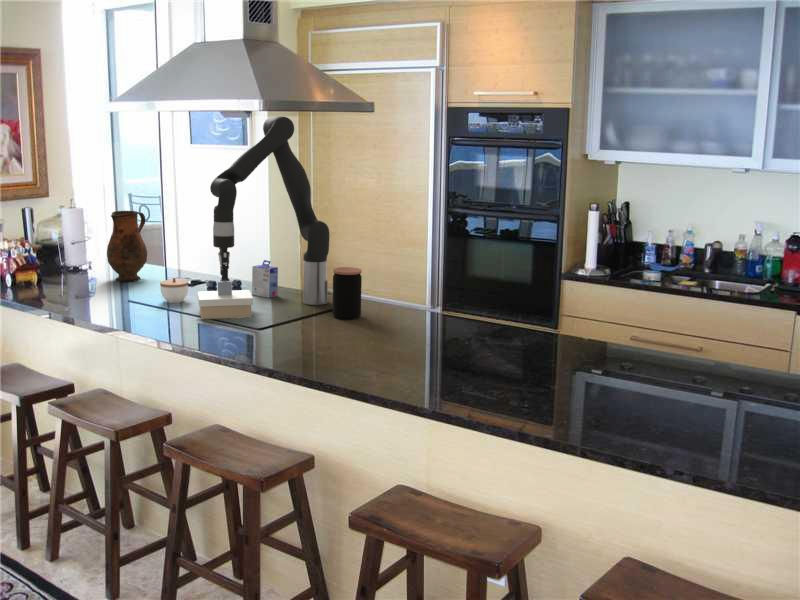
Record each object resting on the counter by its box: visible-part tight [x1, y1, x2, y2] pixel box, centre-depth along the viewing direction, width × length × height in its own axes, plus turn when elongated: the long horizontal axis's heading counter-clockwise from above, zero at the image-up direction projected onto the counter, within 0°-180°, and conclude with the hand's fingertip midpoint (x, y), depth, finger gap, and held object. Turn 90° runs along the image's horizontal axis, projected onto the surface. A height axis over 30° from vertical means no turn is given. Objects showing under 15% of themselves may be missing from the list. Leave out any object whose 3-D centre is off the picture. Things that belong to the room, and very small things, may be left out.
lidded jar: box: [159, 277, 189, 304], centre depth 319 cm, size 11×11×9 cm
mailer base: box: [199, 305, 252, 320], centre depth 301 cm, size 18×13×7 cm
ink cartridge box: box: [251, 259, 279, 299], centre depth 333 cm, size 10×6×14 cm, turn 58°
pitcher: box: [106, 210, 148, 283], centre depth 356 cm, size 17×21×30 cm
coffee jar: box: [332, 266, 363, 321], centre depth 302 cm, size 11×11×18 cm
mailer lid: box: [197, 280, 254, 308], centre depth 300 cm, size 19×14×8 cm
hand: (224, 277), depth 299 cm, fingers open, 8 cm apart
